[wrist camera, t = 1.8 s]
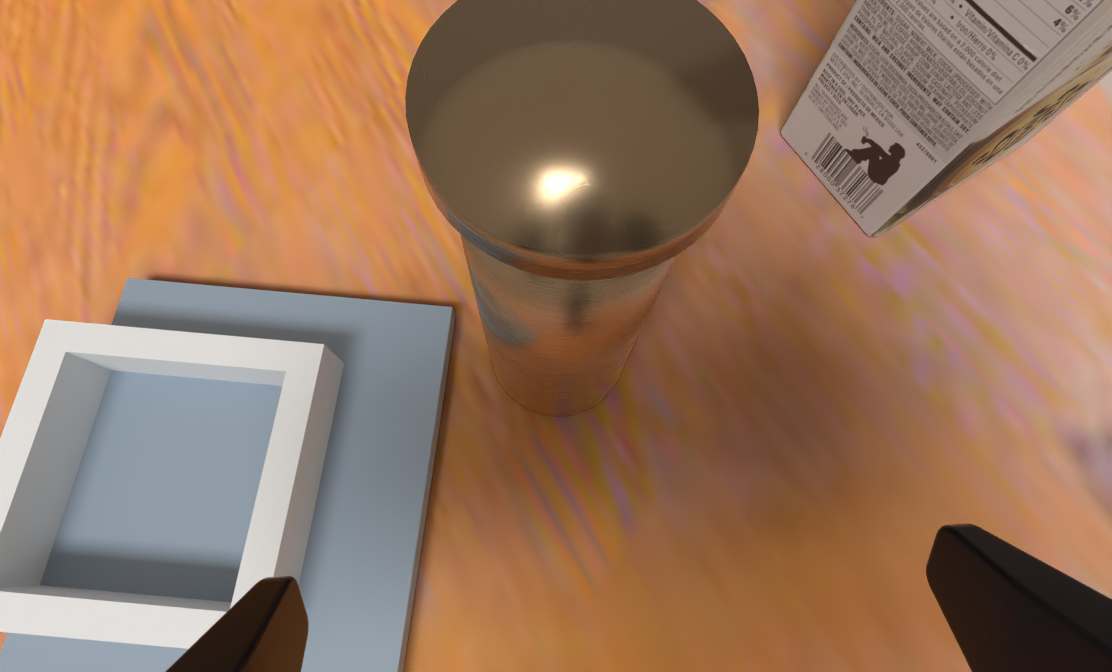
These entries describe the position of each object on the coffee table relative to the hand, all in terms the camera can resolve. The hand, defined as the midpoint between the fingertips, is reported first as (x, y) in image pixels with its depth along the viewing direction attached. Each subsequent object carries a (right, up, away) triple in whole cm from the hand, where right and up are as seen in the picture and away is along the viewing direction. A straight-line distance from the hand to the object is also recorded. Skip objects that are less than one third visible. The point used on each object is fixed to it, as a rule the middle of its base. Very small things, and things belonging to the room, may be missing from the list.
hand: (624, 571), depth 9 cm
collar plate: (-11, -3, +13) cm, 17 cm away
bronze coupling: (-1, +3, +15) cm, 15 cm away
